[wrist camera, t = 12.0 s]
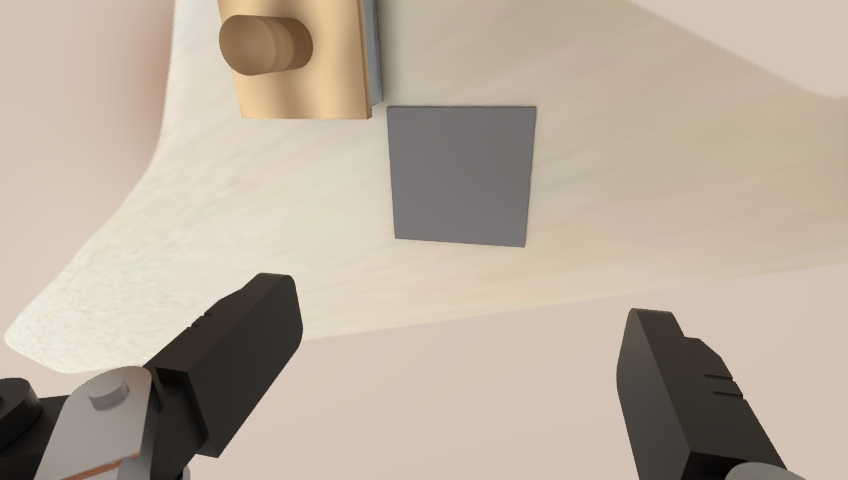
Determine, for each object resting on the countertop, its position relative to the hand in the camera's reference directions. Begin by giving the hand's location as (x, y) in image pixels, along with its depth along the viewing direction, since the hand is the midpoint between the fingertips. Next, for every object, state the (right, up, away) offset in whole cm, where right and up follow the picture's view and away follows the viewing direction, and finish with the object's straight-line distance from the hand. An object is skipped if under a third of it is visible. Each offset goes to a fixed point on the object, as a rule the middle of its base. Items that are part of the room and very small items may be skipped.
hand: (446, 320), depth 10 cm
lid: (-10, +17, +23) cm, 30 cm away
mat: (+3, +8, +30) cm, 31 cm away
